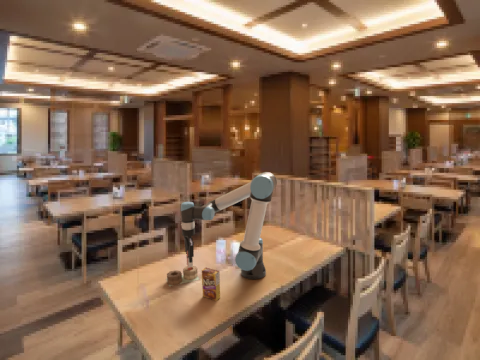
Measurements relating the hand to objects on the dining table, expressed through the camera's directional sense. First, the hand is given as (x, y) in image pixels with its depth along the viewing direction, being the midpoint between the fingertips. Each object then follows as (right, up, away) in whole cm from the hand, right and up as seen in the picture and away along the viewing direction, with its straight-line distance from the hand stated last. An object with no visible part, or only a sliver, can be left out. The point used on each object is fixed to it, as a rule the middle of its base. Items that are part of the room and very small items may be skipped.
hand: (189, 265), depth 176 cm
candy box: (+15, -11, -21) cm, 28 cm away
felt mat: (-4, -8, -2) cm, 9 cm away
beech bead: (0, -7, +1) cm, 7 cm away
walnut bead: (-8, -8, -5) cm, 12 cm away
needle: (0, -6, +1) cm, 7 cm away
